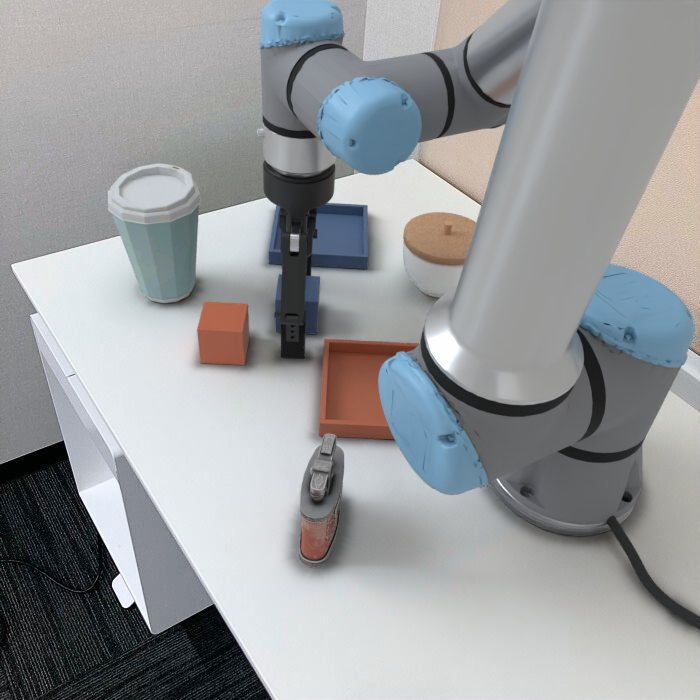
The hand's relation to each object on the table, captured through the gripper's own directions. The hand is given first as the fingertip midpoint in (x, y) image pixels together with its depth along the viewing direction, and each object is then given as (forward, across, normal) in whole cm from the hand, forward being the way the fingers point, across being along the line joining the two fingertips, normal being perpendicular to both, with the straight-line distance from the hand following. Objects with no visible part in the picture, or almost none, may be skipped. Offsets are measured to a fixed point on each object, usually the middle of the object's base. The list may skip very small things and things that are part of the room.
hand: (296, 318), depth 91 cm
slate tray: (0, -18, +2) cm, 18 cm away
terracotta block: (0, +6, -8) cm, 10 cm away
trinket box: (0, -9, +18) cm, 20 cm away
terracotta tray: (0, +12, +10) cm, 16 cm away
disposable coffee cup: (0, -5, -17) cm, 18 cm away
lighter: (0, +30, +4) cm, 31 cm away
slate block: (0, 0, 0) cm, 0 cm away
